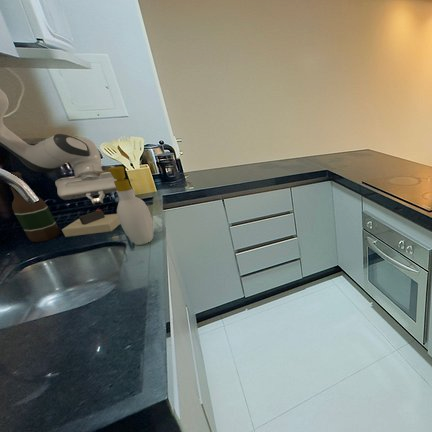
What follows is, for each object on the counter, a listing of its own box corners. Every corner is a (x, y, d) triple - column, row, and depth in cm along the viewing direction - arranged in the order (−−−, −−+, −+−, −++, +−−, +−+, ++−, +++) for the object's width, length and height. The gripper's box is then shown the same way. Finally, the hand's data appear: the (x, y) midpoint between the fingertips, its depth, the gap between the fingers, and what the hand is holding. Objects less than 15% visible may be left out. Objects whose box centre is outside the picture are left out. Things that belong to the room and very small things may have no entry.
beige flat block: (65, 237, 106) (61, 229, 105) (83, 224, 116) (79, 217, 115) (111, 231, 110) (108, 223, 109) (125, 219, 120) (122, 212, 119)
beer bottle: (28, 239, 105) (-9, 174, 96) (58, 230, 111) (26, 168, 102) (33, 244, 101) (-6, 177, 92) (64, 235, 107) (31, 171, 97)
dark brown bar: (84, 224, 109) (81, 216, 107) (82, 224, 109) (78, 216, 108) (105, 217, 115) (101, 209, 113) (102, 216, 115) (98, 209, 114)
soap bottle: (128, 236, 106) (99, 165, 96) (159, 229, 111) (133, 161, 100) (123, 252, 95) (89, 174, 85) (157, 245, 100) (129, 169, 89)
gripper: (50, 174, 112) (57, 205, 109) (119, 165, 123) (127, 193, 120) (58, 183, 117) (64, 213, 114) (124, 173, 128) (131, 201, 125)
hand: (97, 203), depth 117 cm, fingers closed
